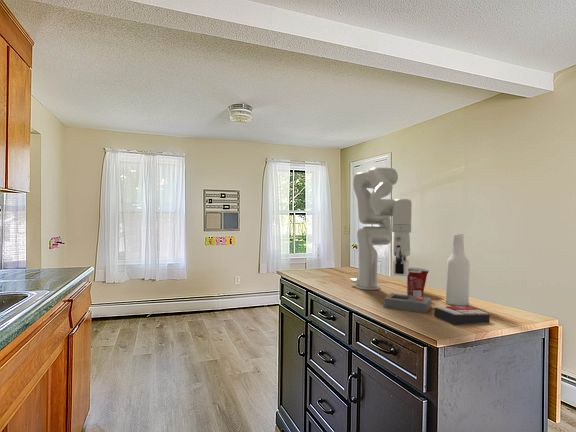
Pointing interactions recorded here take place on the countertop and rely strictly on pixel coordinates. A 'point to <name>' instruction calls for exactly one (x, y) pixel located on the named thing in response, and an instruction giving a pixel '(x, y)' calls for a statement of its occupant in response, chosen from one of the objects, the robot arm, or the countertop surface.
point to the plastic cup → (424, 273)
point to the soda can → (415, 283)
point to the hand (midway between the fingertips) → (400, 272)
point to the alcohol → (457, 274)
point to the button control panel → (461, 315)
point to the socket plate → (407, 302)
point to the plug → (406, 268)
